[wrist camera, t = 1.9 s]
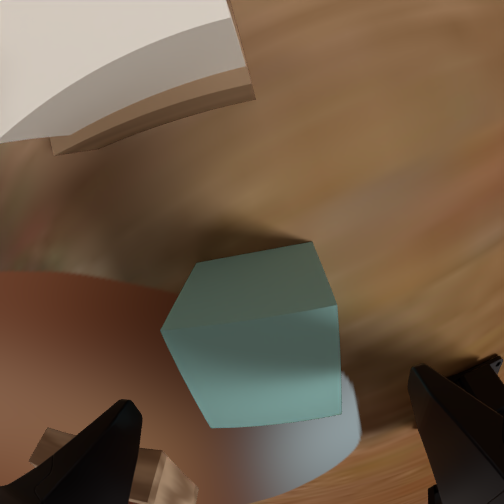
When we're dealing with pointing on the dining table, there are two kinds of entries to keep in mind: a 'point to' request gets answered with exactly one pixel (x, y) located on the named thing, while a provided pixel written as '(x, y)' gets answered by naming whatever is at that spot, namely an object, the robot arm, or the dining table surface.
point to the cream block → (102, 57)
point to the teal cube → (258, 338)
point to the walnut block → (162, 108)
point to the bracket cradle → (145, 477)
